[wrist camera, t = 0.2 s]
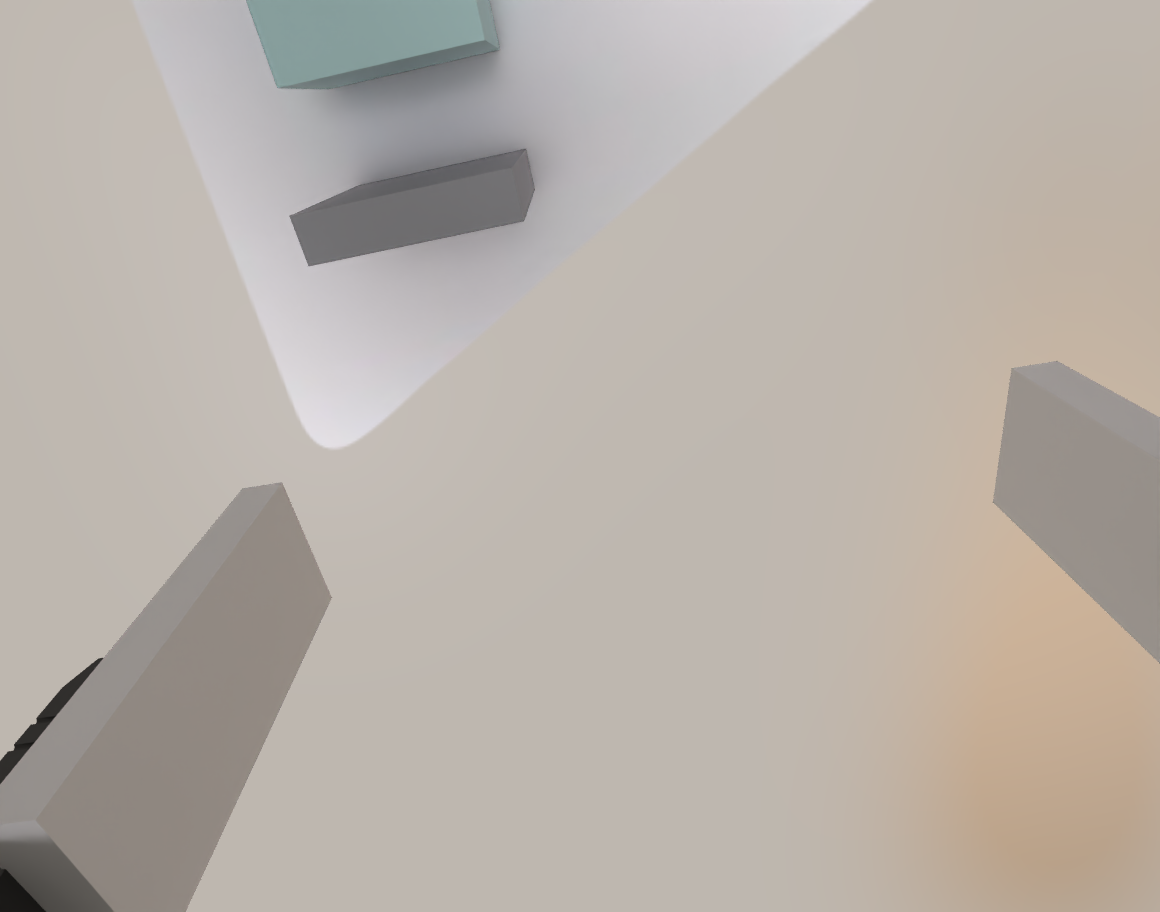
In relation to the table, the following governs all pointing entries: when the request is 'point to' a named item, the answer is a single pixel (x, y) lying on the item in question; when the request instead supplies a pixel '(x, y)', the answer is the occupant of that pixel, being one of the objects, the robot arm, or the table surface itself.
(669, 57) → the table surface
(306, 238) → the wall
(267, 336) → the table surface
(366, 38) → the block
